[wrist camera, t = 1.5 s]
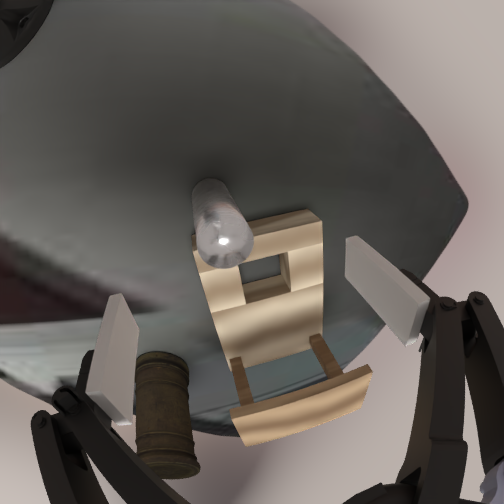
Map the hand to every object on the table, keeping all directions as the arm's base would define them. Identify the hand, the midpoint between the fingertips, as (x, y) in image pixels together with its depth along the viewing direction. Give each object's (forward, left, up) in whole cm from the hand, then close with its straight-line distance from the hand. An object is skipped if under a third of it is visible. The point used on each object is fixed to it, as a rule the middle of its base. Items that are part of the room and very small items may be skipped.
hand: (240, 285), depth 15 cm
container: (+25, -14, -17) cm, 33 cm away
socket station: (+14, +4, -17) cm, 22 cm away
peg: (0, 0, -17) cm, 17 cm away
